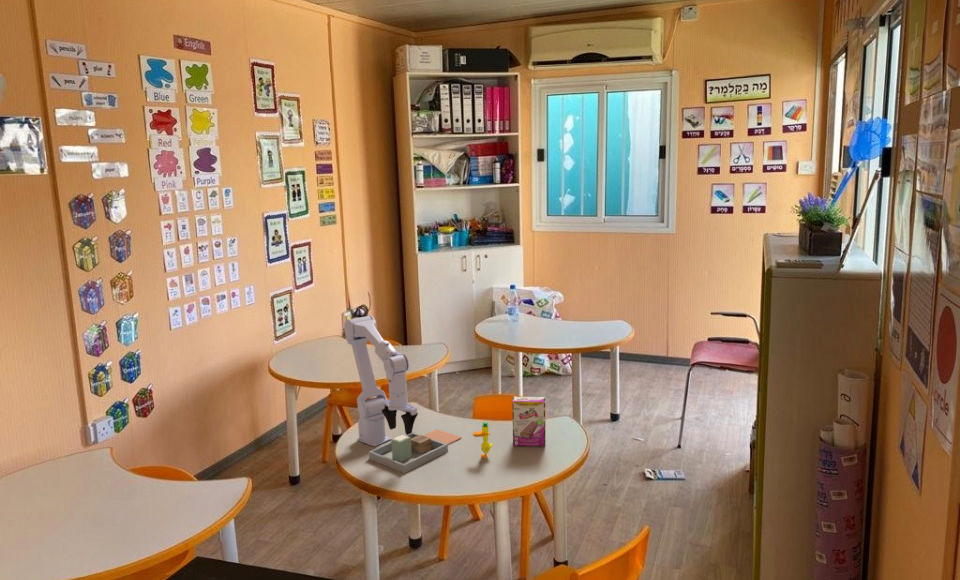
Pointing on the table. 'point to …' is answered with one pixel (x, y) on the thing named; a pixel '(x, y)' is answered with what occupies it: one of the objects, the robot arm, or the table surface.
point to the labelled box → (401, 448)
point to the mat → (442, 436)
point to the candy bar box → (529, 421)
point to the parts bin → (377, 456)
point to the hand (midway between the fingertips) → (400, 431)
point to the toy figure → (484, 439)
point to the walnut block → (420, 444)
